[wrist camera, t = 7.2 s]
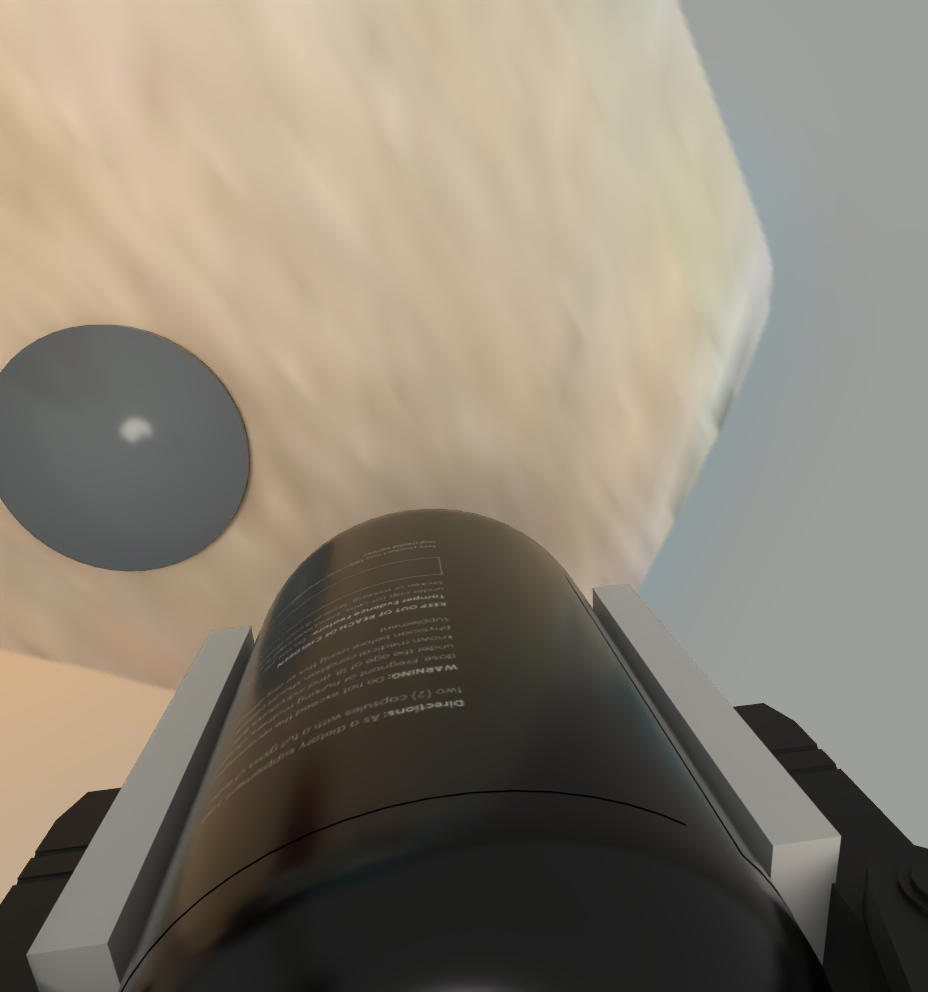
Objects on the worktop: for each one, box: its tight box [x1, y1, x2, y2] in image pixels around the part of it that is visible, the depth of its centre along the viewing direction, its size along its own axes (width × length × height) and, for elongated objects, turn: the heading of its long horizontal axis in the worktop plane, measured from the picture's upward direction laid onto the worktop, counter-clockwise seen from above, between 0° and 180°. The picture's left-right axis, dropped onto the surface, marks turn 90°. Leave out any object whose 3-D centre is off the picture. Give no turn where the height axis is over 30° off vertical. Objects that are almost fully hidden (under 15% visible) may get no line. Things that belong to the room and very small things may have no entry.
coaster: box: [0, 325, 250, 571], centre depth 29 cm, size 11×11×1 cm
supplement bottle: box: [118, 509, 834, 992], centre depth 8 cm, size 7×7×12 cm
